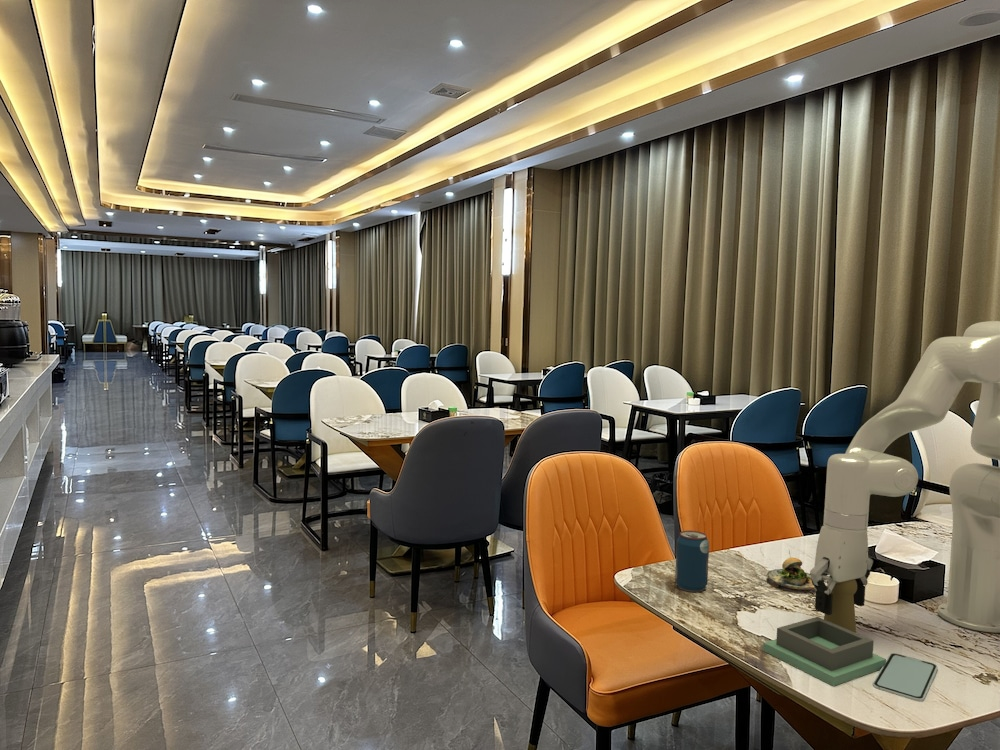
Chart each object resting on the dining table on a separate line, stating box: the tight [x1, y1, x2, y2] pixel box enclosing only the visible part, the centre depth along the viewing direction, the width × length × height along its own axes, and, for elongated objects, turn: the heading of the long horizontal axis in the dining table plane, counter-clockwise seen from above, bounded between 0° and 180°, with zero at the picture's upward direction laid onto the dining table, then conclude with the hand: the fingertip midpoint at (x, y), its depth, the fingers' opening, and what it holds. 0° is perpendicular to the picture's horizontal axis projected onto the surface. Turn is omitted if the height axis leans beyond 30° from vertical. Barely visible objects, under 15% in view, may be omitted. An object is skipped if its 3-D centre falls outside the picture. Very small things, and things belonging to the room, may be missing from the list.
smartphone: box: [872, 652, 938, 702], centre depth 119 cm, size 7×1×15 cm
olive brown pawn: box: [823, 575, 858, 634], centre depth 136 cm, size 6×6×11 cm
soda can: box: [674, 530, 710, 593], centre depth 157 cm, size 7×7×12 cm
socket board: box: [762, 616, 887, 687], centre depth 124 cm, size 14×14×4 cm
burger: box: [766, 550, 814, 591], centre depth 161 cm, size 12×12×8 cm
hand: (839, 608), depth 136 cm, fingers open, 9 cm apart
